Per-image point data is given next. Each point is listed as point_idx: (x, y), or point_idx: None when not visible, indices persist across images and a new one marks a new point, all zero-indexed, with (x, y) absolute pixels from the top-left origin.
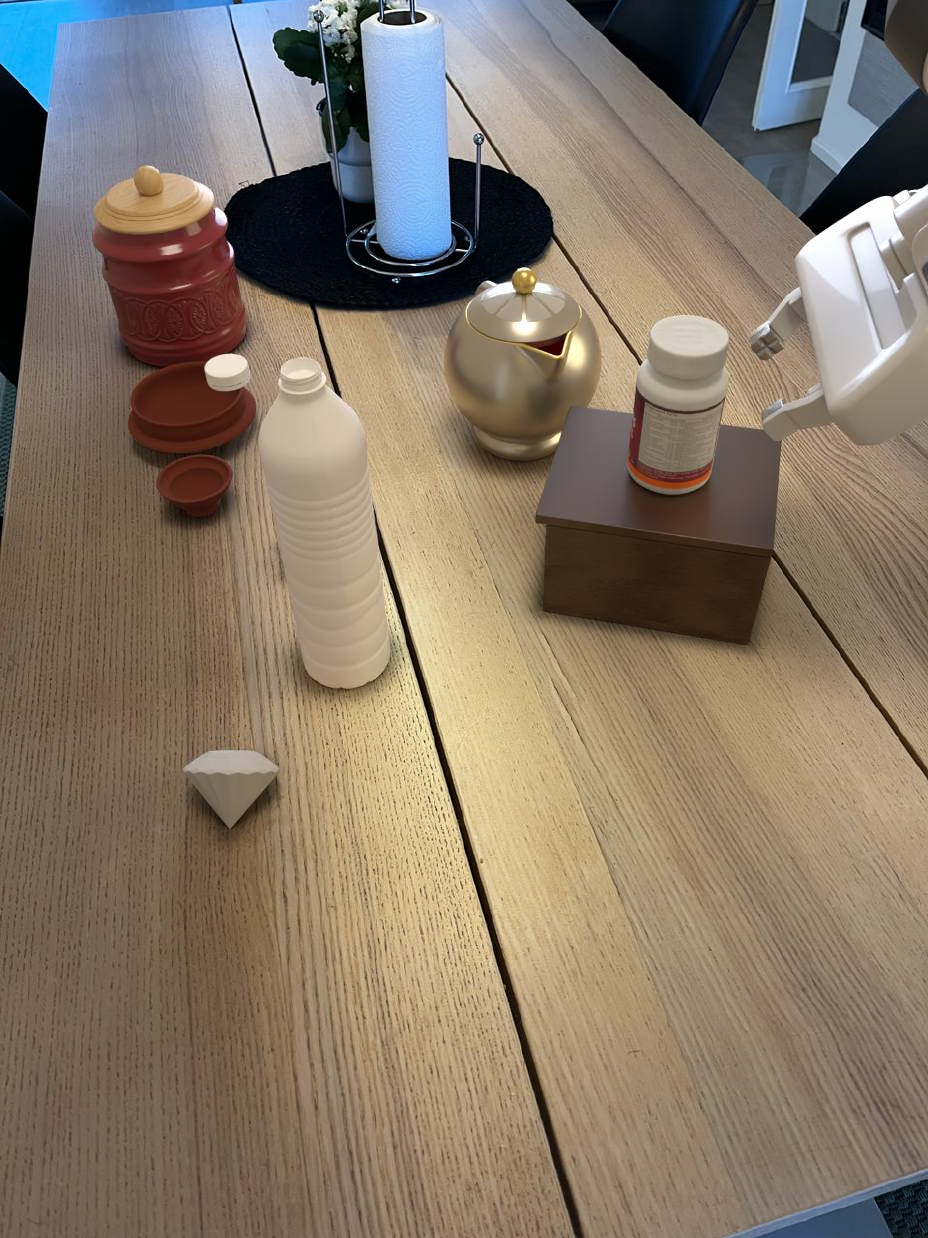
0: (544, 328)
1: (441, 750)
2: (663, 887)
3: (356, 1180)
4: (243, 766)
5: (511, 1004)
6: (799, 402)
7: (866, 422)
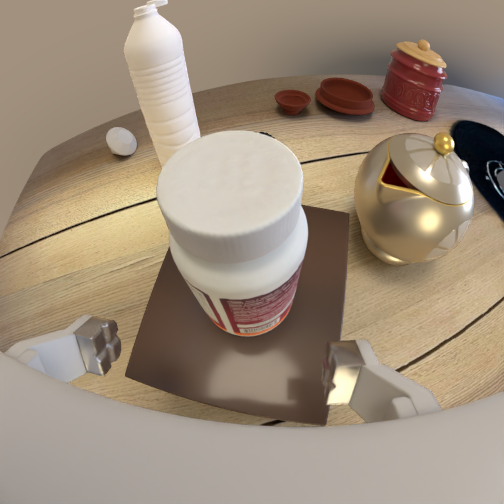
0: (410, 169)
1: (122, 209)
2: (43, 300)
3: (17, 210)
4: (109, 137)
5: (30, 243)
6: (40, 340)
7: None
